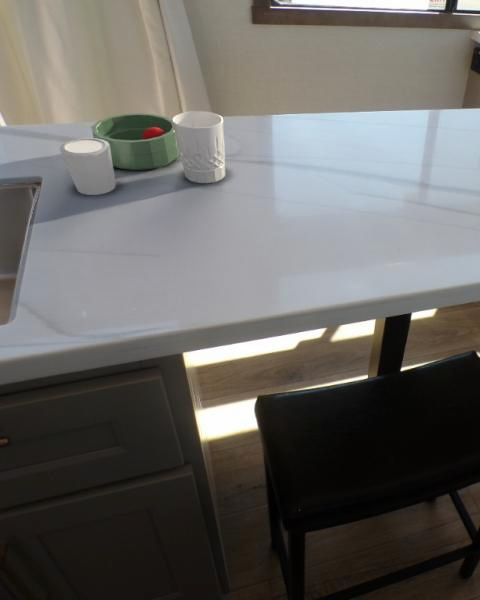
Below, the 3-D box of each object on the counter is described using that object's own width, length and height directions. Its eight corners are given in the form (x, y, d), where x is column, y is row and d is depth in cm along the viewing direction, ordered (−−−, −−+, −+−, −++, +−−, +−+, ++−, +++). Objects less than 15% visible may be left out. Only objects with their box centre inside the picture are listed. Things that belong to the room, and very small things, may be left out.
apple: (134, 128, 92) (162, 119, 92) (142, 135, 96) (169, 127, 97) (145, 152, 92) (172, 142, 93) (152, 158, 96) (178, 149, 97)
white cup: (204, 189, 88) (195, 131, 82) (171, 175, 91) (161, 118, 84) (238, 175, 93) (233, 119, 87) (207, 162, 96) (199, 107, 90)
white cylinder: (126, 190, 85) (116, 149, 81) (81, 200, 81) (68, 158, 77) (110, 174, 89) (100, 134, 84) (66, 183, 85) (53, 142, 80)
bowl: (82, 161, 91) (73, 131, 88) (135, 136, 102) (129, 108, 98) (148, 178, 89) (142, 148, 85) (196, 151, 99) (192, 123, 96)
